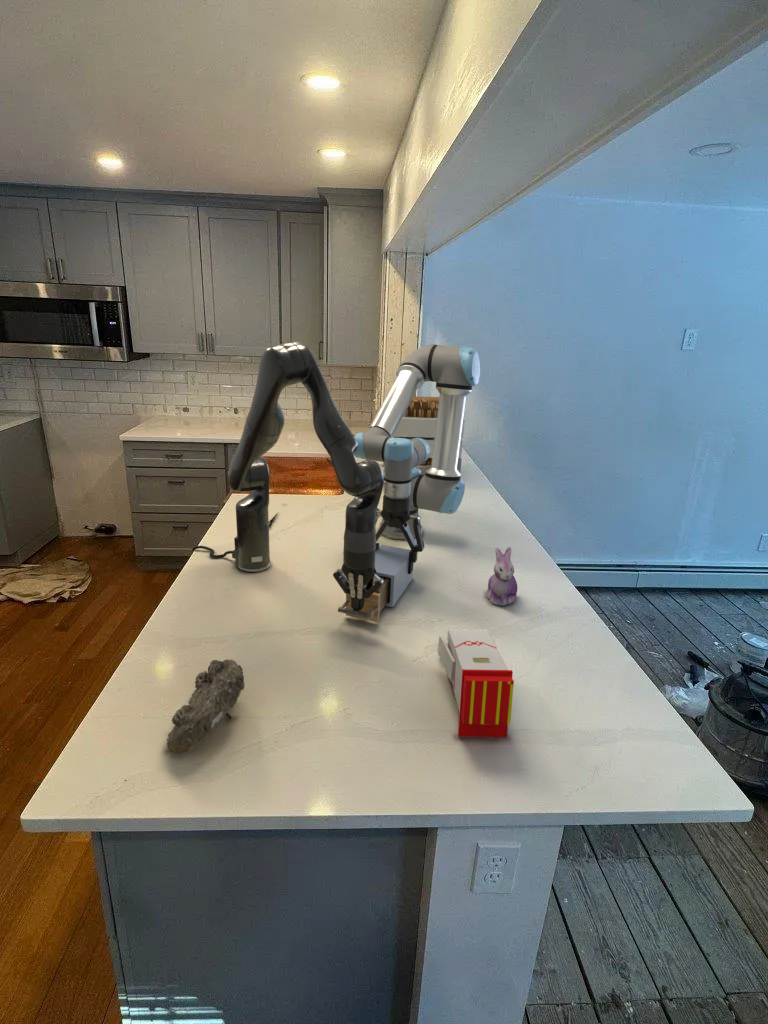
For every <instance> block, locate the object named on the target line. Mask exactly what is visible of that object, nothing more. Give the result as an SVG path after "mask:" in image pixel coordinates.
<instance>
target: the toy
mask: <svg viewBox="0 0 768 1024" xmlns="http://www.w3.org/2000/svg"><path fill="white" fill-rule="evenodd" d="M446 640H447V643H446V641H445V639H444V636H443V635H442V634H439V637H438V646H437V656H438V657H439V659H440V661H441V663H442V666H443V668H444V670H445V672H446V674H447V677H448V679H449V681H450V684H451V687H452V690H453V693H454V697H455V701H456V705H457V708H458V711H459V714H458V715H459V716H458V730H457V731H458V732H457V737H458V738H508V731H509V726H510V725H511V717H512V707H513V697H514V696H513V695H514V684H515V680H514V679H513V673H514V671H513V670H512V669H508V667H507V665H506V662H505V661H504V659H503V658H502V655H501V653H500V651H499V649H498V647H497V643H496V639H495V637H494V635H493V634H491V632H490V631H489V629H467V628H466V629H465V628H463V629H461V628H460V629H459V628H448V630H447V639H446Z"/></svg>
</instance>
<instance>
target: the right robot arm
mask: <svg viewBox="0 0 768 1024" xmlns="http://www.w3.org/2000/svg"><path fill="white" fill-rule="evenodd" d="M395 375H396V378H395V379H394V382H393V383H392V385H391V387H390V389H389V390H388V392H387V394H386V396H385V397H384V399H383V402H382V403H381V405H380V407H379V409H378V411H377V412H376V414H375V416H374V418H373V420H372V422H371V424H370V425H369V427H368V428H367V431H366V432H358V433H356V434H354V435H355V436H354V437H355V439H356V440H357V443H358V449H357V451H356V452H355V453H354V458H355V457H356V458H359V459H361V460H374V461H376V462H380V463H384V462H385V466H384V469H383V474H384V485H383V490H382V493H383V496H382V509H381V510H380V509H379V508H378V507H377V510H376V524H377V522H378V519H379V518H380V517H381V518H382V519H381V522H379V526H378V531H376V550H377V549H378V548H379V547H380V543H379V542H378V541H379V539H380V538H381V536H382V537H385V538H387V539H389V540H395V541H406V543H407V545H408V546H409V549H410V550H411V551H410V552H409V563H408V574H411V572H412V573H413V571H414V564H415V563H416V562H417V560H418V554H419V552H420V553H423V551H424V549H425V543H424V537H423V525H422V524H421V515H419V510H424V511H430V512H435V513H439V514H446V515H452V514H454V513H456V512H457V511H458V509H459V508H460V506H461V504H462V502H463V499H464V495H465V490H466V487H465V486H466V483H465V482H464V481H463V480H462V479H461V475H462V474H460V473H459V472H458V470H457V463H458V456H459V448H460V440H462V438H461V432H462V425H463V419H464V417H465V410H466V409H465V407H466V400H467V396H468V395H469V394H470V393H471V392H472V391H473V387H475V386H477V385H478V384H479V382H480V377H481V362H480V356H479V353H478V351H477V350H476V349H475V348H474V347H470V346H463V345H446V344H445V345H444V344H443V345H442V344H436V343H435V344H434V343H433V344H432V343H431V344H425V345H422V346H420V347H418V348H417V349H414V350H413V351H412V352H410V353H409V354H408V355H407V356H406V357H405V358H404V359H403V360H402V361H401V363H400V364H399V366H398V367H397V369H396V372H395ZM426 382H432V383H433V382H434V383H435V389H436V390H437V392H438V393H439V396H438V397H439V404H438V413H437V421H436V430H435V438H434V447H433V455H432V464H431V465H430V466H429V468H427V469H426V470H425V474H422V470H421V468H419V467H420V466H419V465H421V464H423V462H424V461H426V460H427V459H428V457H429V454H430V448H429V445H428V443H427V442H426V441H425V440H423V439H421V438H413V439H411V440H409V439H405V438H393V435H394V433H395V431H396V429H397V427H398V425H399V423H400V421H401V419H402V418H403V416H404V414H405V412H406V410H407V408H408V406H409V404H410V402H411V400H412V398H413V396H415V394H416V392H417V391H418V389H420V388H422V387H423V386H424V384H425V383H426ZM325 459H326V462H328V463H329V464H330V465H331V466H332V467H333V464H332V460H331V459H330V458H325Z"/></svg>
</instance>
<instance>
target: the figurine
mask: <svg viewBox="0 0 768 1024" xmlns="http://www.w3.org/2000/svg"><path fill="white" fill-rule="evenodd" d="M511 557H512V547H511V546H509V547H507V548H506V550H505V552H504V553H503V552H502V551H501V549H500V548H499V547H496V548H495V560H496V561H495V565H494V567H493V572H494V573H493V574H492V575H491V576H490V577H489V578H488V581H487V582H488V583H487V592H486V596H487V598H488V600H489V601H490V603H491V604H493V605H496V606H506V605H508V604H512V603H513V602H514V601H515V600H516V596H517V593H518V583H517V579H516V578H515V575H514V573H515V567H514V565H513V563H512V560H511Z"/></svg>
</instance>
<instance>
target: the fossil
mask: <svg viewBox="0 0 768 1024" xmlns="http://www.w3.org/2000/svg"><path fill="white" fill-rule="evenodd" d="M243 670H244V669H243V667H242V665H240V664H237V662H236V661H235V660H234V659H232V658H231V659H227V658H226V659H224V660H223V661H222V660H217V659H212V660H211V661H210V663H209V665H208V666H207V671H201V672H199V673H198V674H197V675H196V676H195V680H194V684H195V685H194V687H195V689H194V690H193V693H192V694H191V697H190V698H189V700H188V704H184V705H182V706H181V707H180V709H177V710H176V711H175V713H174V715H173V716H172V718H171V723H172V724H173V727H172V730H171V731H170V732H168V734H167V738H166V741H167V742H166V745H167V749H168V750H169V751H173V752H174V753H176V754H178V753H182V752H188V751H189V752H192V751H193V750H195V748H196V747H197V746H199V744H200V743H201V742H203V741H204V740H205V739H206V738H207V737H208V736H209V735H210V734H211V733H212V732H214V730H215V729H217V727H218V726H219V724H220V722H221V721H222V720H223V719H224V718H225V716H226V717H227V719H229V720H233V717H232V715H230V714H229V710H230V709H231V708H234V706H235V704H236V703H237V702H238V699H239V697H240V695H241V693H242V691H243V690H245V689H244V688H245V675H244V671H243Z"/></svg>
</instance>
